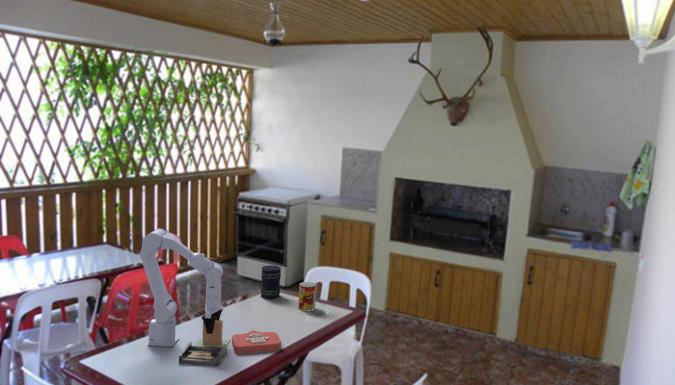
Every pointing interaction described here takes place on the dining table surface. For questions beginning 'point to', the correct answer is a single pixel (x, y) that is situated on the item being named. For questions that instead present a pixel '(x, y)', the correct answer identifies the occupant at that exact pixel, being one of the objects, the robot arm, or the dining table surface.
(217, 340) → the tall orange plank
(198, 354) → the offcut short
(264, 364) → the dining table surface
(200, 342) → the mat
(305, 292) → the canned food
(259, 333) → the red flat case
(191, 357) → the block
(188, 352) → the rack
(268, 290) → the storage jar
